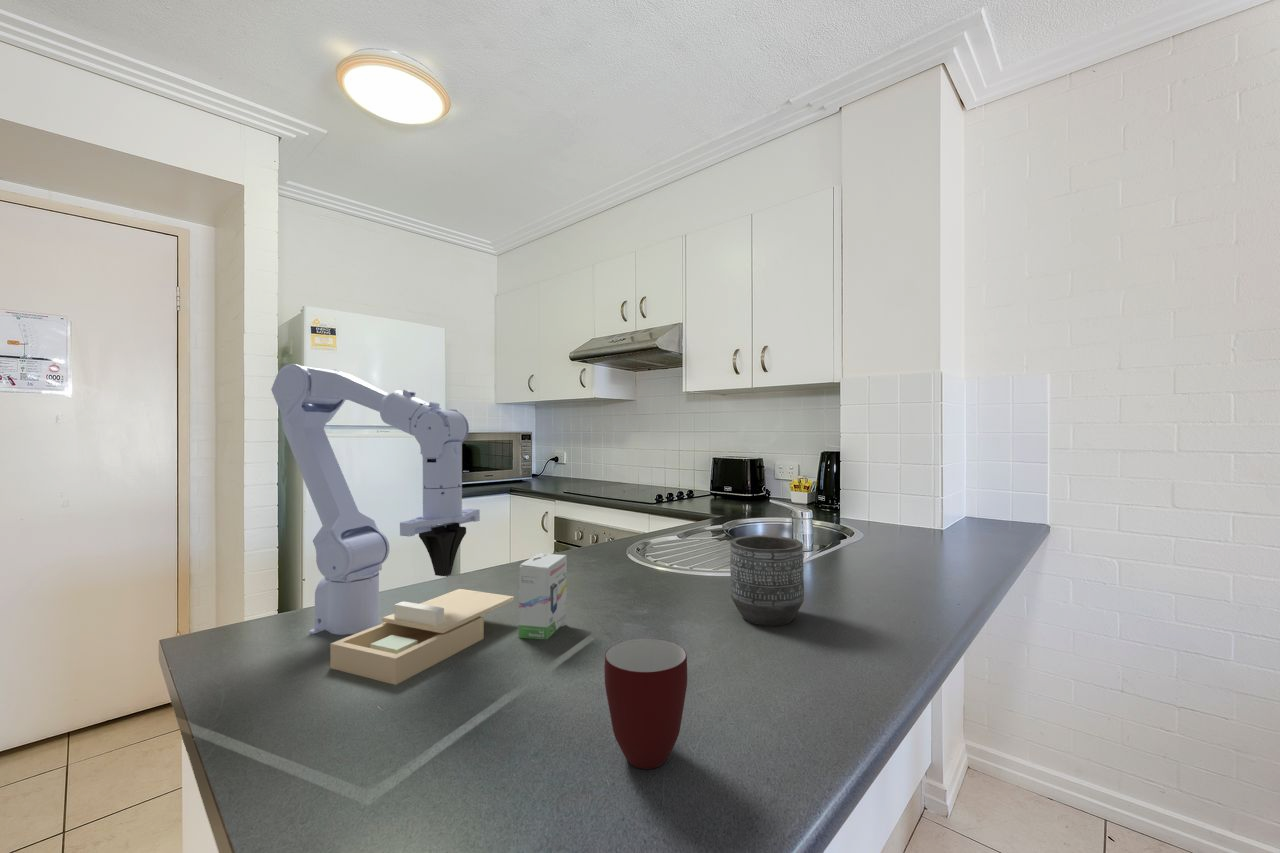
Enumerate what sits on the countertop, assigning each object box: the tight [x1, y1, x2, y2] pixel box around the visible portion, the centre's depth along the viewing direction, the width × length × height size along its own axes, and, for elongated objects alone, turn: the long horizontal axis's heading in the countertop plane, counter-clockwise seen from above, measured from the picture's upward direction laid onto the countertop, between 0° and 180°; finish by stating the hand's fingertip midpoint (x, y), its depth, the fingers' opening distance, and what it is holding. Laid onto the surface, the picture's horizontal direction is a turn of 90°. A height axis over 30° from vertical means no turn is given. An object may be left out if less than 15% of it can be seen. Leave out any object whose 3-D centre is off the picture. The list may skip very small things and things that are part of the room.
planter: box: [729, 535, 805, 627], centre depth 91 cm, size 12×12×13 cm
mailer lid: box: [382, 588, 515, 633], centre depth 83 cm, size 12×16×3 cm
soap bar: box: [370, 635, 418, 654], centre depth 73 cm, size 5×4×2 cm
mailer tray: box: [329, 616, 485, 686], centre depth 76 cm, size 12×16×4 cm
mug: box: [604, 638, 688, 770], centre depth 53 cm, size 11×8×10 cm
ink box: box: [518, 552, 568, 640], centre depth 84 cm, size 9×5×12 cm, turn 168°
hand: (443, 574), depth 83 cm, fingers closed
